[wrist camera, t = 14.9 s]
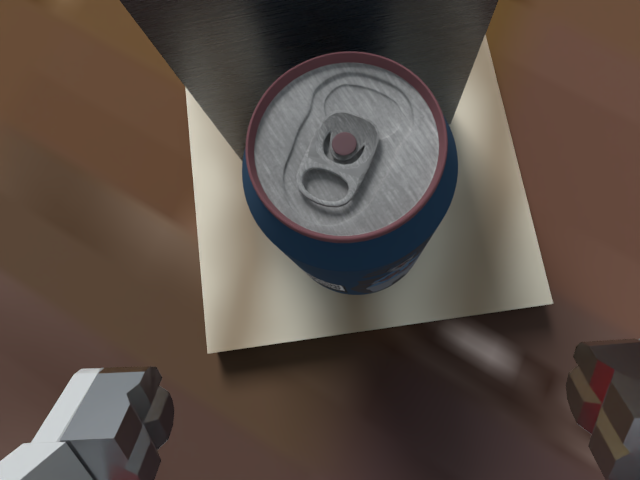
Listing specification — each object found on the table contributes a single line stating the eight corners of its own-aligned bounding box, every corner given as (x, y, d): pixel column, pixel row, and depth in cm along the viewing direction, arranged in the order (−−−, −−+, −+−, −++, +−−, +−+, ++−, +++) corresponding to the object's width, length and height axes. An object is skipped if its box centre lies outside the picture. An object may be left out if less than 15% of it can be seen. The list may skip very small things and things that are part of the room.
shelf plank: (217, 352, 25) (207, 353, 24) (194, 98, 29) (185, 86, 27) (542, 305, 24) (553, 303, 22) (477, 44, 27) (483, 27, 26)
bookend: (242, 161, 26) (97, -30, 12) (234, 91, 27) (92, -157, 13) (450, 123, 25) (547, -129, 11) (434, 53, 26) (506, -259, 12)
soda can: (325, 154, 25) (287, 2, 14) (441, 200, 24) (509, 77, 12) (272, 264, 24) (182, 203, 13) (390, 318, 23) (410, 306, 11)
